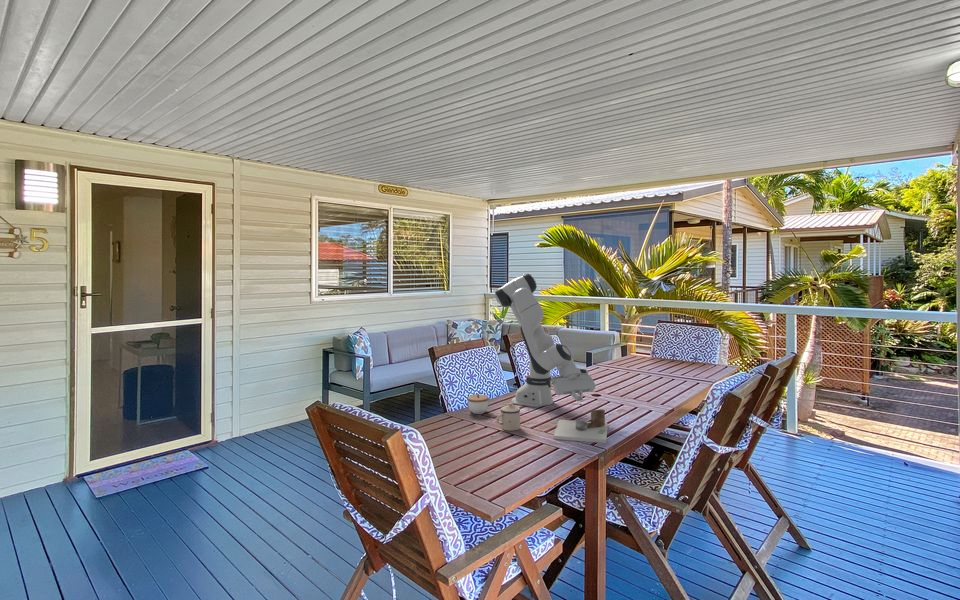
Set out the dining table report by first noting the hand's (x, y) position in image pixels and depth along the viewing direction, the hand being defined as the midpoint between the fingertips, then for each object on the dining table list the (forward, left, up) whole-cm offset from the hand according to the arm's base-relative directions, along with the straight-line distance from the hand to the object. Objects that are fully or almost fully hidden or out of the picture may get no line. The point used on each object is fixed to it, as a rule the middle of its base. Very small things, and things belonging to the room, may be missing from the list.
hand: (579, 400), depth 235 cm
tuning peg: (+5, -9, -9) cm, 14 cm away
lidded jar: (-51, +8, -12) cm, 53 cm away
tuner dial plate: (+2, -11, -11) cm, 16 cm away
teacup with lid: (-31, -13, -12) cm, 36 cm away
